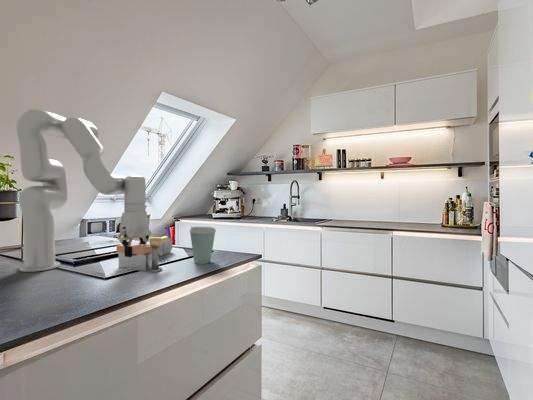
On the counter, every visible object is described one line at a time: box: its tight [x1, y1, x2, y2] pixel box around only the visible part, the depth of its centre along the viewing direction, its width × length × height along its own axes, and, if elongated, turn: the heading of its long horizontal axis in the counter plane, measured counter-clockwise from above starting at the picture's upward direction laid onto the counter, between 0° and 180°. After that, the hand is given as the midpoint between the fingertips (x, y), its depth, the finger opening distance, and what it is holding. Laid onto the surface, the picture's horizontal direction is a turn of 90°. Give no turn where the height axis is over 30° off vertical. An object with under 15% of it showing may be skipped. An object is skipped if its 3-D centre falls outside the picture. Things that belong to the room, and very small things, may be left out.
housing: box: [117, 246, 163, 273], centre depth 116 cm, size 19×5×9 cm, turn 66°
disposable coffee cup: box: [189, 226, 217, 265], centre depth 126 cm, size 11×11×15 cm
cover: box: [116, 242, 152, 255], centre depth 117 cm, size 13×6×2 cm, turn 66°
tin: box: [158, 235, 173, 258], centre depth 140 cm, size 15×3×8 cm, turn 172°
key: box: [148, 235, 169, 246], centre depth 117 cm, size 11×4×3 cm, turn 172°
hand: (135, 254), depth 117 cm, fingers closed on cover, 6 cm apart
